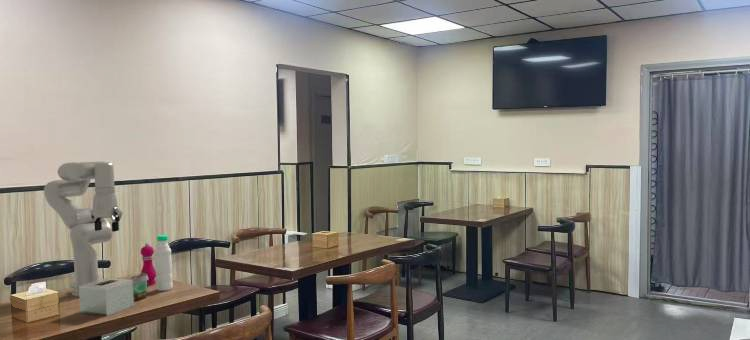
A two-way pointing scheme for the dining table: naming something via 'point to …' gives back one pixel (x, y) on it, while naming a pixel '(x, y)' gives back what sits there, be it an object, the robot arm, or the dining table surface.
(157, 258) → the water bottle
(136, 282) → the half-round slice
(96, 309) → the box
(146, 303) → the dining table surface
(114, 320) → the dining table surface
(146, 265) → the pepper mill
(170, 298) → the dining table surface
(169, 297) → the dining table surface
